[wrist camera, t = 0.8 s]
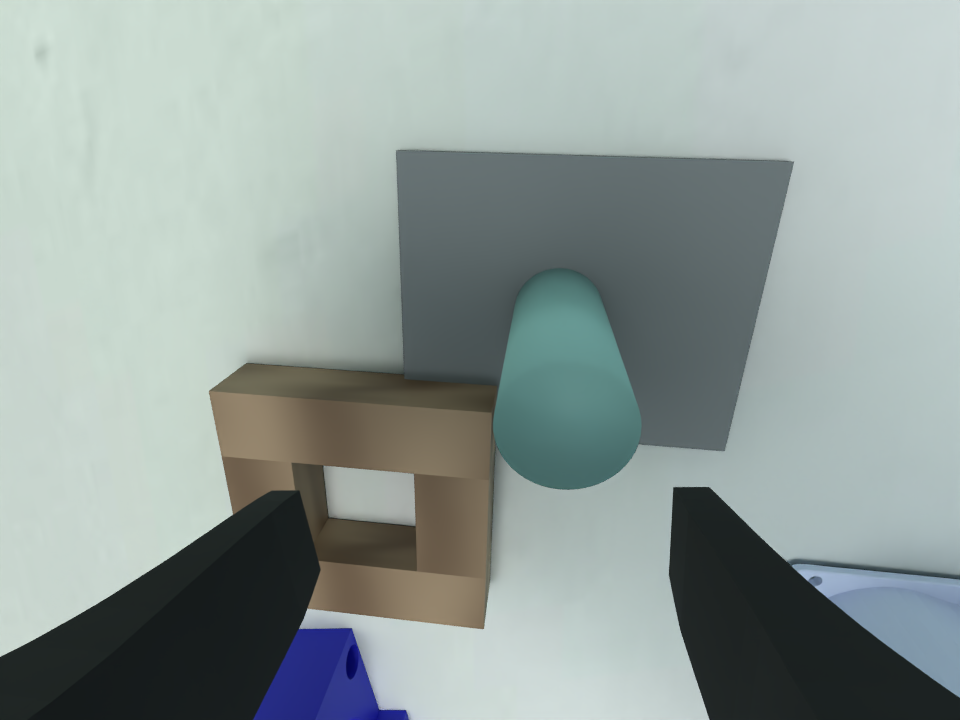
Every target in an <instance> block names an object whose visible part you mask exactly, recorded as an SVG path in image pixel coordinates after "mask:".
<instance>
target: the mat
mask: <svg viewBox="0 0 960 720" xmlns="http://www.w3.org/2000/svg"><path fill="white" fill-rule="evenodd" d="M396 160H397V188H398V216H399V243H400V271H401V299H402V327H403V354H404V379H409V380H423V381H437V382H451V383H465V384H479V385H493V386H497V396H498V391H499V385H500V380H501V375H502V370H503V364H504V359H505V354H506V349H507V343H508V338H509V333H510V328H511V323H512V317H513V312H514V307H515V302H516V298H517V296H518V293H519V291H520V290H521V288H522V287H523V285H524V284H525V283H526V282H527V281H528V280H529V279H530V278H532V277H533V276H534V275H536V274H538V273H540V272H542V271H545V270H549V269H555V268H564V269H570V270H574V271H576V272H579V273H581V274H582V275H584V276H586V277H587V278H588V279H589V280H590V281H591V282H592V283H593V284H594V285H595V287H596V288H597V290H598V292H599V294H600V296H601V299H602V302H603V305H604V308H605V311H606V314H607V317H608V320H609V323H610V326H611V328H612V331H613V334H614V337H615V340H616V343H617V346H618V349H619V352H620V355H621V358H622V361H623V364H624V366H625V369H626V372H627V375H628V378H629V381H630V384H631V387H632V390H633V393H634V396H635V399H636V402H637V404H638V407H639V411H640V415H641V425H642V427H641V436H640V440H639V444H642V445H654V446H667V447H679V448H691V449H704V450H716V451H725V447H726V443H727V439H728V435H729V431H730V427H731V422H732V418H733V414H734V410H735V406H736V402H737V397H738V393H739V389H740V385H741V381H742V377H743V372H744V368H745V364H746V360H747V356H748V352H749V347H750V343H751V339H752V335H753V331H754V327H755V322H756V318H757V314H758V310H759V306H760V302H761V297H762V293H763V289H764V285H765V281H766V277H767V272H768V268H769V264H770V260H771V256H772V252H773V247H774V243H775V239H776V235H777V231H778V227H779V222H780V218H781V214H782V210H783V206H784V202H785V197H786V193H787V189H788V185H789V181H790V177H791V172H792V168H793V164H794V162H791V161H761V160H726V159H690V158H655V157H620V156H584V155H549V154H514V153H478V152H443V151H407V150H396ZM496 401H497V399H496Z"/></svg>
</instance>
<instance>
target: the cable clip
mask: <svg viewBox="0 0 960 720" xmlns="http://www.w3.org/2000/svg"><path fill="white" fill-rule="evenodd" d="M253 720H409V719H408V715H407V712H406V710H379V708H378V705H377V702H376V699H375V696H374V693H373V690H372V687H371V684H370V681H369V678H368V675H367V672H366V669H365V666H364V663H363V660H362V658H361V655H360V652H359V649H358V646H357V643H356V640H355V637H354V634H353V631H352V628H338V629H298V631H297V633H296V636H295V638H294V640H293V642H292V644H291V646H290V648H289V650H288V652H287V654H286V656H285V658H284V660H283V662H282V664H281V666H280V668H279V670H278V672H277V674H276V675H275V677H274V679H273V681H272V683H271V685H270V687H269V689H268V691H267V693H266V695H265V697H264V699H263V701H262V703H261V705H260V707H259V709H258V711H257V713H256V715H255V717H254V719H253Z"/></svg>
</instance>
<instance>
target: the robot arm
mask: <svg viewBox="0 0 960 720" xmlns="http://www.w3.org/2000/svg"><path fill="white" fill-rule="evenodd" d="M320 571H321V568H320V565H319V561H318V557H317V553H316V550H315V546H314V542H313V539H312V535H311V531H310V528H309V524H308V520H307V516H306V513H305V509H304V505H303V502H302V498H301V494H300V490H276V491H270V492H268V493H266V494H264V495H263V496H261V497H259V498H258V499H256V500H255V501H253V502H252V503H250V504H248V505H247V506H245V507H244V508H242V509H241V510H239V511H238V512H236V513H235V514H233V515H232V516H231V517H229V518H228V519H226V520H225V521H223V522H222V523H220V524H219V525H217V526H216V527H214V528H213V529H212V530H210V531H209V532H207V533H206V534H204V535H203V536H201V537H200V538H198V539H197V540H195V541H194V542H193V543H191V544H190V545H188V546H187V547H185V548H184V549H182V550H181V551H179V552H178V553H176V554H175V555H173V556H172V557H170V558H169V559H167V560H166V561H164V562H163V563H161V564H160V565H158V566H157V567H155V568H153V569H152V570H150V571H149V572H147V573H146V574H144V575H142V576H141V577H139V578H138V579H136V580H135V581H133V582H132V583H130V584H128V585H127V586H125V587H124V588H122V589H121V590H119V591H117V592H116V593H114V594H113V595H111V596H110V597H108V598H106V599H105V600H103V601H101V602H100V603H98V604H96V605H95V606H93V607H91V608H90V609H88V610H86V611H84V612H83V613H81V614H79V615H78V616H76V617H74V618H72V619H71V620H69V621H67V622H65V623H63V624H62V625H60V626H58V627H56V628H54V629H53V630H51V631H49V632H47V633H45V634H44V635H42V636H40V637H38V638H36V639H34V640H33V641H31V642H29V643H27V644H25V645H23V646H21V647H19V648H17V649H15V650H13V651H11V652H9V653H7V654H5V655H3V656H1V657H0V720H253V719H254V717H255V715H256V713H257V711H258V709H259V707H260V705H261V703H262V701H263V699H264V697H265V695H266V693H267V691H268V689H269V687H270V685H271V683H272V681H273V679H274V677H275V675H276V674H277V672H278V670H279V668H280V666H281V664H282V662H283V660H284V658H285V656H286V654H287V652H288V650H289V648H290V646H291V644H292V642H293V640H294V638H295V636H296V633H297V631H298V629H299V627H300V625H301V623H302V621H303V619H304V616H305V614H306V611H307V608H308V605H309V603H310V600H311V597H312V595H313V592H314V589H315V586H316V583H317V580H318V577H319V574H320ZM813 576H816V577H815V578H812V579H810V578H811V577H813ZM669 577H670V582H671V587H672V592H673V597H674V602H675V607H676V612H677V616H678V621H679V626H680V630H681V633H682V637H683V640H684V643H685V646H686V649H687V652H688V655H689V658H690V661H691V665H692V668H693V671H694V674H695V677H696V680H697V683H698V686H699V689H700V692H701V695H702V698H703V701H704V704H705V707H706V710H707V713H708V716H709V719H710V720H960V580H959V579H949V578H939V577H929V576H919V575H909V574H899V573H889V572H879V571H869V570H859V569H849V568H838V567H828V566H818V565H808V564H795V565H792V566H791V565H790V564H789V563H787V562H786V561H785V560H784V559H783V558H782V557H781V556H780V555H779V554H778V553H776V552H775V551H774V550H773V549H772V548H771V547H770V546H769V545H768V544H767V543H766V542H765V541H764V540H763V539H762V538H761V537H760V536H759V535H758V534H756V533H755V532H754V531H753V530H752V529H751V528H750V527H749V526H748V525H747V524H746V523H745V522H744V521H743V520H742V519H741V518H740V517H739V516H738V515H737V514H736V513H735V512H734V511H733V510H732V509H731V508H730V507H729V506H728V505H727V504H726V503H725V502H724V501H723V500H722V499H721V498H720V497H719V496H718V495H717V494H716V493H715V492H714V491H713V490H712V489H711V488H709V487H673V507H672V526H671V546H670V565H669Z"/></svg>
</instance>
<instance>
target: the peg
mask: <svg viewBox="0 0 960 720" xmlns="http://www.w3.org/2000/svg"><path fill="white" fill-rule="evenodd" d="M641 427H642V425H641V415H640V411H639V407H638V404H637V402H636V399H635V396H634V393H633V390H632V387H631V384H630V381H629V378H628V375H627V372H626V369H625V366H624V364H623V361H622V358H621V355H620V352H619V349H618V346H617V343H616V340H615V337H614V334H613V331H612V328H611V326H610V323H609V320H608V317H607V314H606V311H605V308H604V305H603V302H602V299H601V296H600V294H599V292H598V290H597V288H596V287H595V285H594V284H593V283H592V282H591V281H590V280H589V279H588V278H587V277H586V276H584V275H582V274H581V273H579V272H576V271H574V270H570V269H564V268H555V269H549V270H545V271H542V272H540V273H538V274H536V275H534V276H533V277H532V278H530V279H529V280H528V281H527V282H526V283H525V284H524V285H523V287H522V288H521V290H520V291H519V293H518V296H517V298H516V302H515V307H514V312H513V317H512V323H511V328H510V333H509V338H508V343H507V349H506V354H505V359H504V364H503V370H502V375H501V380H500V385H499V391H498V396H497V401H496V406H495V412H494V418H493V433H494V438H495V442H496V445H497V447H498V449H499V451H500V453H501V455H502V457H503V458H504V459H505V461H506V462H507V463H508V464H509V465H510V467H511V468H512V469H514V470H515V471H516V472H517V473H518V474H520V475H521V476H523V477H524V478H526V479H528V480H530V481H532V482H534V483H536V484H539V485H542V486H545V487H549V488H555V489H567V490H570V489H581V488H586V487H590V486H593V485H596V484H599V483H601V482H604V481H606V480H607V479H609V478H611V477H612V476H614V475H615V474H616V473H618V472H619V471H620V470H621V469H622V468H623V467H624V466H625V465H626V464H627V463H628V462H629V461H630V459H631V458H632V456H633V454H634V453H635V451H636V449H637V446H638V444H639V440H640V436H641Z"/></svg>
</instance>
